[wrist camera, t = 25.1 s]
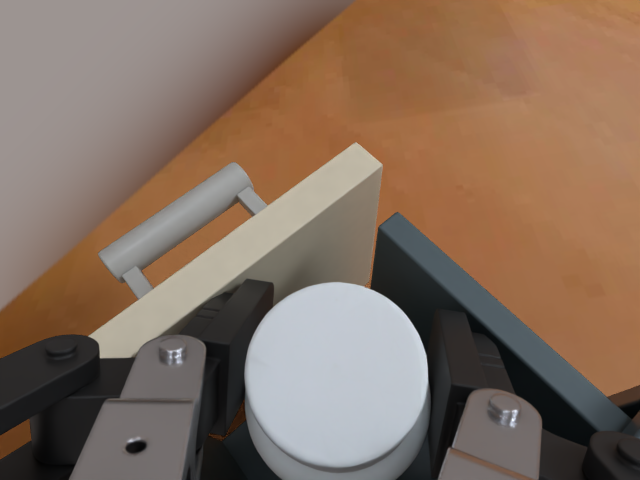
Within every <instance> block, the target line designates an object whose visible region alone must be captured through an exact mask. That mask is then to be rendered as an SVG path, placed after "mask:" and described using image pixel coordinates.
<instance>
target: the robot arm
mask: <svg viewBox="0 0 640 480" xmlns="http://www.w3.org/2000/svg"><path fill="white" fill-rule="evenodd" d="M273 299H274V284H273V282H266V281H260V280H254V279H246V280H245V281H244V282H243V283H242V284H241V286H240V287H239V288H238V289H237V290H236V292H235V293H234V294H233V293H226V292H225V293H223V294H220V295H218V296H216V297H214V298H211V299H210V300H209V301H208V302H207V304H206V305H205V306H204V307H203V309H201V310H200V311H199V312H198V313H197V314H196V317H194V318H193V319H192V320H191V321H190V322H189V323H188V324H187V325H186V326H185V327H184V328H183V329H182V330H181V332H180V333H179V334H178V335H165V336H160V337H157V338H154V339H152V340H150V341H148V342H146V343H145V344H143V345H142V346H141V347H140V349H139V351H138V353H137V356H136V357H132V358H100V349H99V344H98V342H97V341H96V340H95V339H93V338H91V337H88V336H83V335H61V336H55V337H51V338H47V339H44V340H42V341H39V342H37V343H34V344H32V345H30V346H28V347H25V348H23V349H21V350H19V351H16V352H14V353H12V354H10V355H7V356H5V357H3V358H1V359H0V435H2V434H3V433H5V432H7V431H9V430H10V429H12V428H14V427H15V426H17V425H19V424H21V423H22V422H24V421H26V420H27V419H29V420H30V429H31V439H32V440H31V441H30V442H28V443H26V444H25V445H23V446H22V447H20V448H18V449H17V450H15V451H14V452H12V453H10V454H9V455H7V456H6V457H4V458H2V459H1V460H0V480H200V477H201V469H202V461H203V443H204V442H205V440H206V438H207V437H208V435H209V433H212V434H217V435H222V436H225V435H226V433H227V431H228V429H229V427H230V425H231V423H232V421H233V420H234V418H235V416H236V414H237V412H238V410H239V408H240V406H241V404H242V402H243V400H244V398H245V389H246V388H245V378H244V372H245V361H246V356H247V351H248V347H249V344H250V342H251V339H252V337H253V335H254V333H255V331H256V329H257V327H258V325H259V324H260V322H261V321H262V320H263V318H264V317H265V315H266V314H267V313H268V312H269V311H270V310H271V309H272V308H273ZM426 357H427V364H428V381H429V385H430V393H431V413H430V422H429V427H428V443H429V454H430V466H431V477H432V478H436V479H438V480H640V439H639V438H636V437H634V436H631V435H628V434H625V433H621V432H615V431H600V432H596V433H595V434H593V435H592V436H591V438H590V441H589V444H588V447H585V446H582V445H580V444H577V443H574V442H572V441H569V440H566V439H564V438H561V437H559V436H556V435H554V434H552V433H550V432H548V431H546V430H545V429H543V428H542V419H541V416H540V414H539V413H538V411H537V410H536V409H535V408H534V407H533V406H532V405H531V404H530V403H528V402H527V401H526V400H524V399H522V398H520V397H519V396H516V395H515V392H514V389H513V387H512V384H511V382H510V379H509V377H508V374H507V372H506V369H504V364H503V361H502V359H501V356H500V354H499V351H498V349H497V346H496V345H495V344H494V343H493V342H492V341H491V340H490V339H489V338H488V337H487V336H485V335H484V334H480V333H474V332H471V329H470V326H469V323H468V320H467V317H466V314H465V313H464V312H457V311H451V310H444V309H438V308H437V309H436V311H435V314H434V318H433V323H432V329H431V334H430V339H429V344H428V350H427V355H426Z"/></svg>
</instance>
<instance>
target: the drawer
mask: <svg viewBox="0 0 640 480" xmlns="http://www.w3.org/2000/svg"><path fill="white" fill-rule="evenodd" d="M382 168H383V165H382V164H381V163H380V162H379V161H378V160H377V159H375V158H374V157H373V156H372V155H371V154H369V153H368V152H367V151H366V150H365V149H364V148H362V147H361V146H360V145H359V144H358V143H356V142H355V143H354V144H352V145H351V146H350V147H348V148H347V149H345V150H344V151H343V152H341V153H340V154H338V155H337V156H336V157H334V158H333V159H332V160H330V161H329V162H327V163H326V164H325V165H323V166H322V167H321V168H319V169H318V170H316V171H315V172H314V173H312V174H311V175H310V176H308V177H307V178H305V179H304V180H303V181H301V182H300V183H299V184H297V185H296V186H294V187H293V188H292V189H290V190H289V191H287V192H286V193H285V194H283V195H282V196H281V197H279V198H278V199H276V200H275V201H274V202H272V203H271V204H270V205H268V206H267V204H266V203H265V202H264V201H263V200H262V199H261V198H260V197H259V196H258V195H257V194H256V193H255V192H254V191H253V190H254V188H253V185H252V182H251V180H250V179H249V177H248V175H247V174H246V173H245V171H244V170H243V169H242V168H241V167H240V166H239V165H238V164H237V163H235V162H232V163H230V164H229V165H227V166H226V167H224V168H223V169H221V170H220V171H218V172H217V173H215V174H214V175H212V176H211V177H209V178H208V179H206V180H205V181H203V182H202V183H200V184H199V185H197V186H196V187H195V188H193V189H192V190H190V191H189V192H187V193H186V194H184V195H183V196H181V197H180V198H178V199H177V200H175V201H174V202H172V203H171V204H169V205H168V206H166V207H165V208H163V209H162V210H160V211H159V212H158V213H156V214H155V215H153V216H152V217H150V218H149V219H147V220H146V221H144V222H143V223H141V224H140V225H138V226H137V227H135V228H134V229H132V230H131V231H129V232H128V233H126V234H125V235H123V236H122V237H121V238H119V239H118V240H116V241H115V242H113V243H112V244H110V245H109V246H107V247H106V248H104V249H103V250H101V251H100V252H99V253H98V255H99V257H100V259H101V261H102V262H103V263H104V265H105V266H106V267H107V269H108V270H109V271H110V272H111V273H112V275H113V276H114V277H115V278H116V279H117V280H118V281H119V282H121V283H125V282H126V283H127V284H128V286H129V287H130V289H131V290H132V291H133V293H134V294H135V296H136V297H137V298H138V300H137V301H136V302H135V303H133V304H132V305H130V306H129V307H128V308H126V309H125V310H123V311H122V312H121V313H119V314H118V315H117V316H115V317H114V318H112V319H111V320H110V321H108V322H107V323H106V324H104V325H103V326H101V327H100V328H99V329H97V330H96V331H95V332H93V333H92V334H90V335H89V336H88V337H91V338H93V339H95V340H96V341H97V342H98V344H99V349H100V358H132V357H136V356H137V353H138V351H139V349H140V347H141V346H142V345H143V344H145V343H146V342H148V341H150V340H152V339H154V338H157V337H160V336H165V335H178V334H179V333H180V332H181V330H182V329H183V328H184V327H185V326H186V325H187V324H188V323H189V322H190V321H191V320H192V319H193V318H194V317H196V314H197V313H198V312H199V311H200V310H201V309H203V307H204V306H205V305H206V304H207V302H208V301H209V300H210V299H211V298H214V297H216V296H218V295H220V294H223V293H225V292H226V293H233V294H234V293H235V292H236V290H237V289H238V288H239V287H240V286H241V284H242V283H243V282H244V281H245V280H246V279H254V280H260V281H266V282H273V284H274V299H273V307H274V306H275V305H276V304H277V303H279V302H280V301H281V300H283V299H284V298H286V297H287V296H289V295H290V294H292V293H294V292H297V291H298V290H301V289H303V288H306V287H308V286H312V285H317V284H321V283H331V282H342V283H350V284H356V285H360V286H364V285H366V284H367V283H368V282H369V277H370V269H371V260H372V252H373V243H374V235H375V227H376V218H377V210H378V201H379V193H380V184H381V176H382ZM238 202H239V203H240V204H241V205H242V206H243V207H244V208H245V209H246V210H247V211H248V213H249V214H250V215H251V216H252V218H250V219H249V220H248V221H246V222H245V223H243V224H242V225H241V226H239V227H238V228H237V229H235V230H234V231H232V232H231V233H230V234H228V235H227V236H225V237H224V238H223V239H221V240H220V241H219V242H217V243H216V244H214V245H213V246H212V247H210V248H209V249H208V250H206V251H205V252H203V253H202V254H201V255H199V256H198V257H197V258H195V259H194V260H192V261H191V262H190V263H188V264H187V265H186V266H184V267H183V268H181V269H180V270H179V271H177V272H176V273H174V274H173V275H172V276H170V277H169V278H168V279H166V280H165V281H163V282H162V283H161V284H159V285H158V286H157V287H155V288H153V286H152V285H151V284H150V282H149V281H148V279H147V278H146V277H145V275H144V274H143V273H142V272H141V271H142V270H143V269H144V268H146V267H147V266H149V265H150V264H152V263H153V262H154V261H156V260H157V259H159V258H160V257H161V256H163V255H164V254H166V253H167V252H168V251H170V250H171V249H173V248H174V247H176V246H177V245H178V244H180V243H181V242H183V241H184V240H185V239H187V238H188V237H190V236H191V235H193V234H194V233H195V232H197V231H198V230H200V229H201V228H202V227H204V226H205V225H207V224H208V223H209V222H211V221H212V220H214V219H215V218H217V217H218V216H219V215H221V214H222V213H224V212H225V211H226V210H228V209H229V208H231V207H232V206H234V205H235V204H236V203H238ZM370 289H371V290H374V291H376V292H378V293H379V294H381V295H383V296H385V297H387V298H388V299H389V300H391V301H392V302H393V303H394V304H396V305H397V306H398V307H399V308H400V309H401V310H402V311H403V312H404V313H405V314H406V316H407V317H408V318H409V319H410V321H411V322H412V324H413V325H414V327H415V329H416V330H417V332H418V334H419V336H420V338H421V341H422V344H423V346H424V350H425V353H426V355H427V350H428V344H429V339H430V334H431V329H432V323H433V318H434V314H435V311H436V309H437V308H438V309H444V310H451V311H457V312H464V313H465V314H466V317H467V320H468V323H469V326H470V329H471V332H474V333H480V334H484V335H485V336H487V337H488V338H489V339H490V340H491V341H492V342H493V343H494V344H495V345H496V346H497V349H498V351H499V354H500V356H501V359H502V361H503V364H504V369H506V372H507V374H508V377H509V379H510V382H511V384H512V387H513V389H514V392H515V395H516V396H519V397H520V398H522V399H524V400H526V401H527V402H528V403H530V404H531V405H532V406H533V407H534V408H535V409H536V410H537V411H538V413H539V414H540V416H541V419H542V428H543V429H545V430H546V431H548V432H550V433H552V434H554V435H556V436H559V437H561V438H564V439H566V440H569V441H572V442H574V443H577V444H580V445H582V446H585V447H588V444H589V441H590V438H591V436H592V435H593V434H595V433H596V432H600V431H615V432H621V433H622V432H623V430H624V429H625V428H626V427H627V425H628V424H629V423H630V422H631V421H632V419H631V418H630V417H629V416H628V415H626V414H625V413H624V412H623V411H622V410H621V409H620V408H619V407H617V406H616V405H615V404H614V403H613V402H612V401H611V400H610V399H608V398H607V397H606V396H605V395H604V394H603V393H602V392H601V391H599V390H598V389H597V388H596V387H595V386H594V385H593V384H592V383H590V382H589V381H588V380H587V379H586V378H585V377H584V376H582V375H581V374H580V373H579V372H578V371H577V370H576V369H575V368H573V367H572V366H571V365H570V364H569V363H568V362H567V361H566V360H564V359H563V358H562V357H561V356H560V355H559V354H558V353H557V352H555V351H554V350H553V349H552V348H551V347H550V346H549V345H548V344H546V343H545V342H544V341H543V340H542V339H541V338H540V337H539V336H537V335H536V334H535V333H534V332H533V331H532V330H531V329H530V328H528V327H527V326H526V325H525V324H524V323H523V322H522V321H521V320H519V319H518V318H517V317H516V316H515V315H514V314H513V313H511V312H510V311H509V310H508V309H507V308H506V307H505V306H504V305H502V304H501V303H500V302H499V301H498V300H497V299H496V298H495V297H493V296H492V295H491V294H490V293H489V292H488V291H487V290H486V289H484V288H483V287H482V286H481V285H480V284H479V283H478V282H477V281H475V280H474V279H473V278H472V277H471V276H470V275H469V274H468V273H466V272H465V271H464V270H463V269H462V268H461V267H460V266H459V265H457V264H456V263H455V262H454V261H453V260H452V259H451V258H450V257H448V256H447V255H446V254H445V253H444V252H443V251H442V250H440V249H439V248H438V247H437V246H436V245H435V244H434V243H433V242H431V241H430V240H429V239H428V238H427V237H426V236H425V235H424V234H422V233H421V232H420V231H419V230H418V229H417V228H416V227H415V226H413V225H412V224H411V223H410V222H409V221H408V220H407V219H406V218H404V217H403V216H402V215H401V214H400V213H398V212H396V213H395V214H393V215H392V216H391V217H390V218H389V219H387V220H386V221H385V222H384V223H382V224H381V225H380V226H379V227H378V233H377V241H376V249H375V257H374V264H373V272H372V280H371V287H370ZM200 480H282V479H281V478H280V477H278V476H277V475H276V474H275V473H274V472H273V471H272V470H271V469H270V468H269V467H268V465H267V464H266V463H265V461H264V460H263V459H262V457H261V456H260V454H259V453H258V451H257V449H256V447H255V445H254V443H253V441H252V438H251V436H250V432H249V429H248V424H247V420H246V421H244V422H243V423H242V424H241V425H240V426H239V427H237V428H236V429H235V430H234V431H233V432H232V433H231V434H229V435H228V436H227V437H226V438H225V439H224V440H223V441H220V440H217V439H215V438H212V437H210V436H208V437H207V438H206V440H205V442H204V443H203V461H202V469H201V477H200ZM396 480H438V479H436V478H432V477H431V466H430V454H429V443H428V431H427V435H426V437H425V440H424V442H423V445H422V447H421V449H420V451H419V453H418V455H417V456H416V458H415V459H414V461H413V462H412V463H411V465H410V466H409V467H408V468H407V469H406V470H405V472H404V473H403V474H402V475H400V476H399V477H398V478H397V479H396Z"/></svg>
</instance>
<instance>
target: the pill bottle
mask: <svg viewBox="0 0 640 480" xmlns="http://www.w3.org/2000/svg"><path fill="white" fill-rule="evenodd" d="M244 378H245V388H246V389H245V413H246V420H247V424H248V429H249V432H250V436H251V438H252V441H253V443H254V445H255V447H256V449H257V451H258V453H259V454H260V456H261V457H262V459H263V460H264V461H265V463H266V464H267V465H268V467H269V468H270V469H271V470H272V471H273V472H274V473H275V474H276V475H277V476H278V477H280V478H281V479H282V480H396V479H397V478H398V477H399V476H400V475H402V474H403V473H404V472H405V470H406V469H407V468H408V467H409V466H410V465H411V463H412V462H413V461H414V459H415V458H416V456H417V455H418V453H419V451H420V449H421V447H422V445H423V442H424V440H425V437H426V435H427V431H428V427H429V422H430V413H431V393H430V385H429V381H428V364H427V357H426V353H425V350H424V346H423V344H422V341H421V338H420V336H419V334H418V332H417V330H416V329H415V327H414V325H413V324H412V322H411V321H410V319H409V318H408V317H407V316H406V314H405V313H404V312H403V311H402V310H401V309H400V308H399V307H398V306H397V305H396V304H394V303H393V302H392V301H391V300H389V299H388V298H387V297H385V296H383V295H381V294H379V293H378V292H376V291H374V290H371V289H368V288H366V287H363V286H360V285H356V284H350V283H342V282H331V283H321V284H317V285H312V286H308V287H306V288H303V289H301V290H298V291H297V292H294V293H292V294H290V295H289V296H287V297H286V298H284V299H283V300H281V301H280V302H279V303H277V304H276V305H275V306H274V307H273V308H272V309H271V310H270V311H269V312H268V313H267V314H266V315H265V317H264V318H263V320H262V321H261V322H260V324H259V325H258V327H257V329H256V331H255V333H254V335H253V337H252V339H251V342H250V344H249V347H248V351H247V356H246V361H245V372H244Z"/></svg>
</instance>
